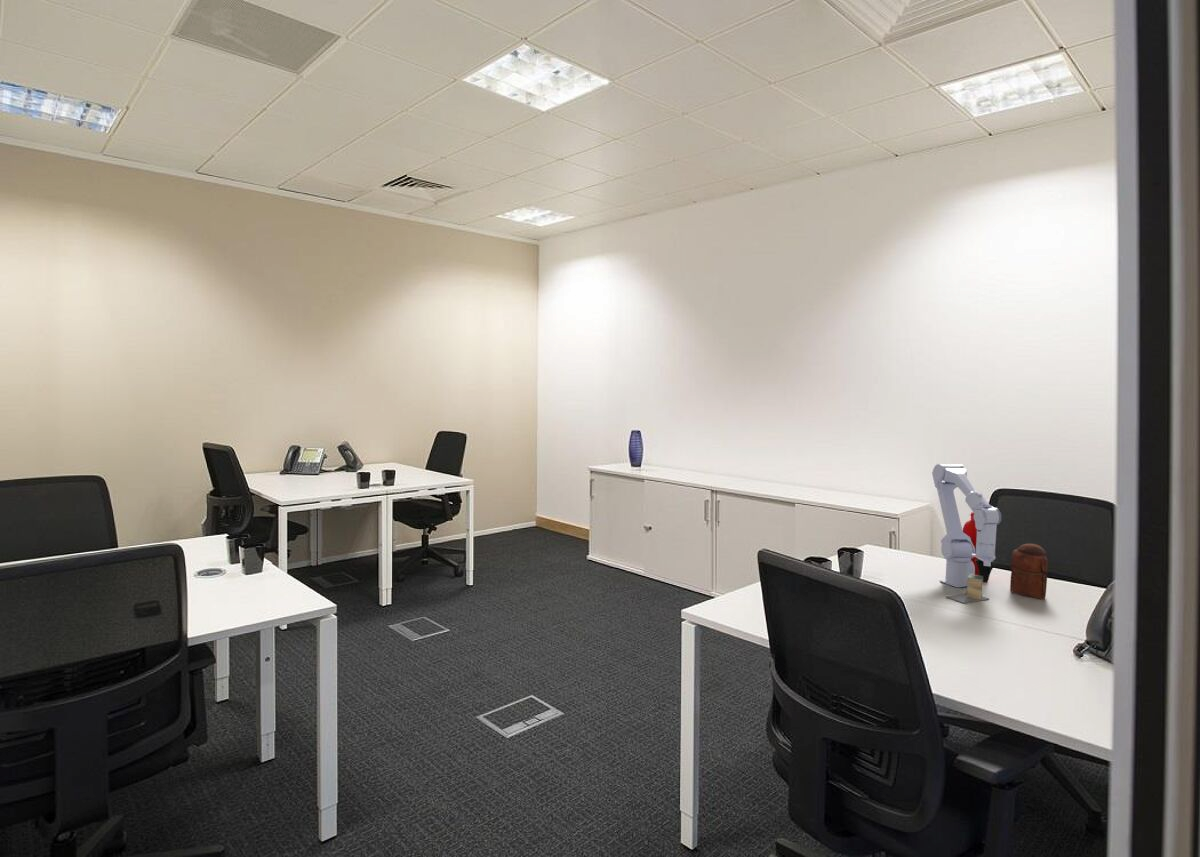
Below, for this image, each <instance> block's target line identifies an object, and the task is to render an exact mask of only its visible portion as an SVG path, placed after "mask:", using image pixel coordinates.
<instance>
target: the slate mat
mask: <svg viewBox="0 0 1200 857" xmlns="http://www.w3.org/2000/svg"><path fill="white" fill-rule="evenodd" d="M945 598H946V599H950V600H952V601H954V602H958V603H961V604H966V605H967V604H970V603H978V602H983V601H989V600H990V597H986V596H983V595H982V597H981V599H975V598H970V597H967V592H965V593H958V594H952V595H946V596H945Z"/></svg>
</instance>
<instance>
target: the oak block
mask: <svg viewBox="0 0 1200 857" xmlns="http://www.w3.org/2000/svg"><path fill="white" fill-rule="evenodd" d="M983 584H984V582H983V576H980V575H973V574H970V575H969V576H968V586H967V588H966V589H967V591H966V593H967V597H970V598H975V599H981V597H982V596H983V588H984V585H983Z"/></svg>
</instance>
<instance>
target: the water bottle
mask: <svg viewBox="0 0 1200 857" xmlns="http://www.w3.org/2000/svg"><path fill="white" fill-rule="evenodd" d="M962 531H963V533H965V534H966V535H968V536H969V537H970V538H971V542H972V544H973V545H974V547H975V554H976V539H977V529H976V527H975V521H974V513H973V511H972V512H971V513H970V520H967V521H966V522H965V523H964V525H963V527H962ZM996 544H997V543H996ZM996 544H995V547H996V546H997V545H996ZM975 560H980V559H978V558H976V557H973V558H971V561H972V562H973V563H974V566H975V575H979V571H978V566H977V564H976V562H975Z"/></svg>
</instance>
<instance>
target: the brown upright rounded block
mask: <svg viewBox="0 0 1200 857" xmlns="http://www.w3.org/2000/svg"><path fill="white" fill-rule="evenodd" d="M1046 555H1047V552H1046V551H1045V549H1044V548H1043V547H1041V546H1040V545H1038V544H1036V543H1025V544H1022V545H1020V546H1019V547H1018V548H1016V549H1014V550H1013V551H1012V555H1011V561H1010V562H1011V563H1010V571H1011V573H1010V585H1009V591H1010V592H1011V593H1015V594H1017V595H1022V596H1027V597H1031V598H1035V599H1038V600H1046V596H1047V586H1048V585H1047V583H1048V582H1047V581H1048V575H1047V574H1048V564H1049V563H1048V562H1049V560H1048V557H1047V556H1046Z"/></svg>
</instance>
